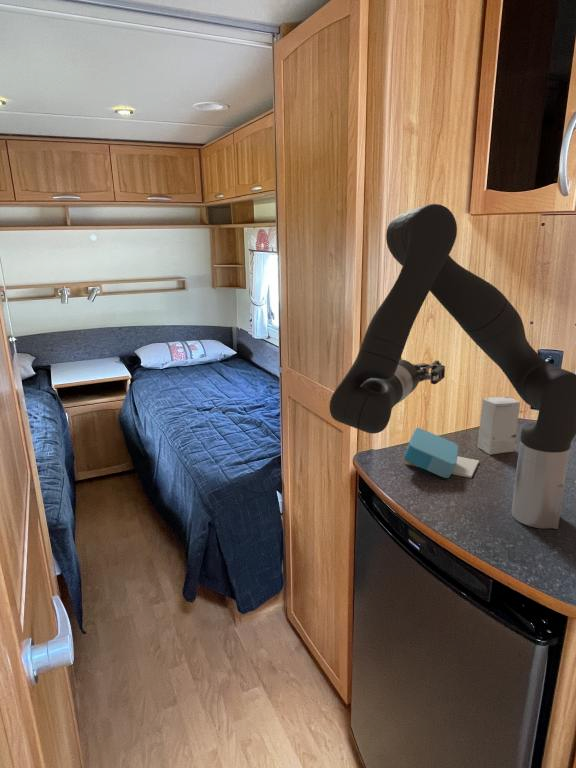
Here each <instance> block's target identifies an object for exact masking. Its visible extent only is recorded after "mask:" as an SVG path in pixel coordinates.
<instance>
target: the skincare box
mask: <svg viewBox="0 0 576 768" xmlns="http://www.w3.org/2000/svg"><path fill="white" fill-rule="evenodd" d="M520 406H521V401H519V400H517V399H514V398H511V397H509V396H495V397H494V396H493V397H486V398H485V397H484V398H482V401H481V410H480V419H479V428H478V430H479V431H478V439H477V448H478V449H480V450H482V451H483V452H484V453H486V454H487V455H490V456H491V455H492V456H493V455H497V454H503V453H512V452H515V448H516V447H515V445H516V438H517V431H518V430H517V429H518V422H519V414H520Z"/></svg>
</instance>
